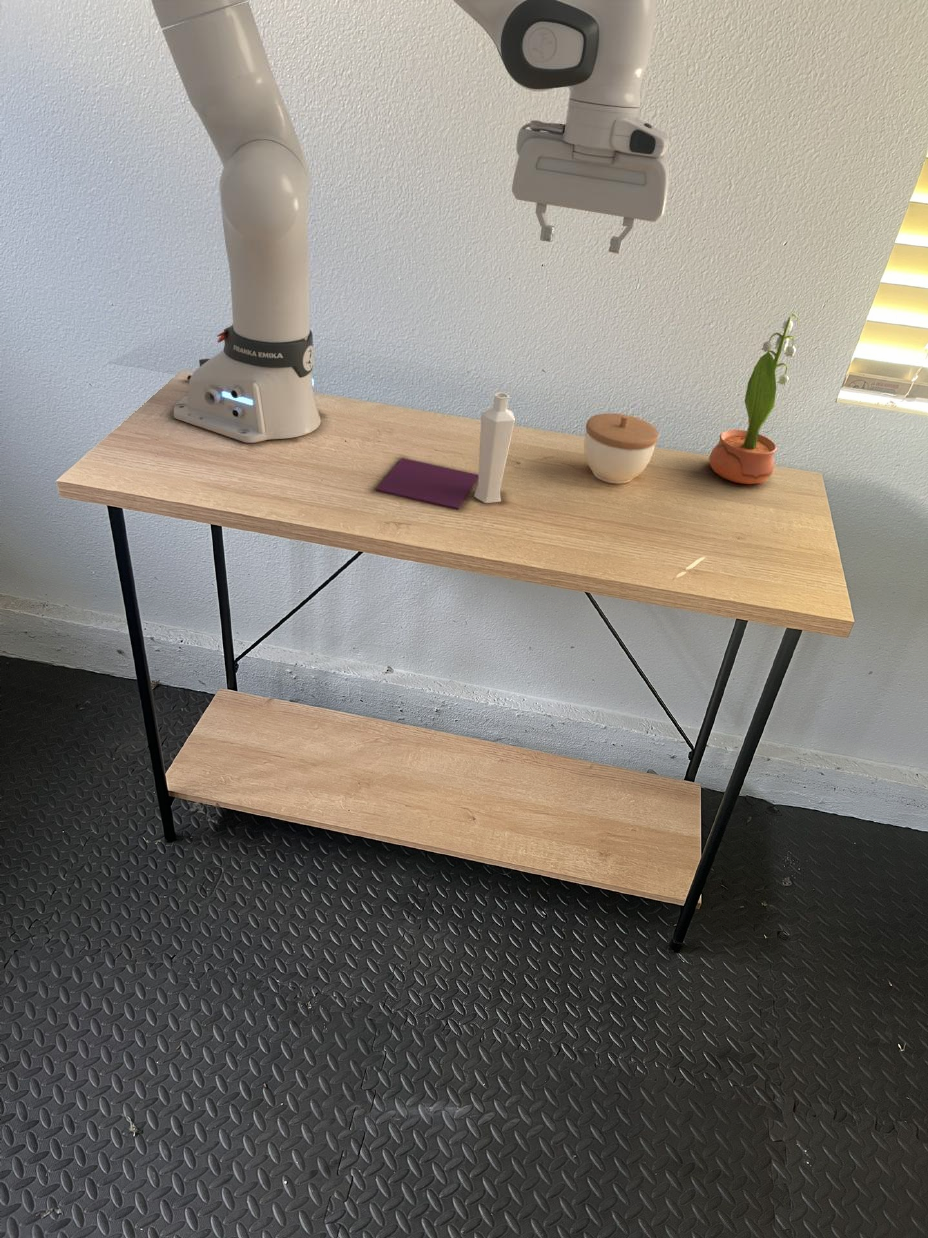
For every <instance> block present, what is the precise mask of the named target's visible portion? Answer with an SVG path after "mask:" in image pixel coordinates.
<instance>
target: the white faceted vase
mask: <svg viewBox="0 0 928 1238" xmlns="http://www.w3.org/2000/svg"><path fill="white" fill-rule="evenodd" d="M509 399H510V395H509V393H506V392H500V391H497V392H495V393H493V401H492V402H493V404H492V407H491V408H488V409H487V410H485V411H483V412H482V413H480V433H479V434H480V436H479V456H478V475H479V476H478V479H477V480H478V481H477V488H476V490H475V493H474V494H473V496H474V498H476V499H477V500H479V501H480V502H482V503H483V504H491V503H500V502H501V501H502V500H501V499H502V497H501V486H502V483H503V477H504V472H505V467H506V464H507V459H508V454H509V449H510V445H511V440H512V436H513V431H514V426H515V422H516V419H515V414H514V412H513V411H511V410H510V409H508V403H509Z"/></svg>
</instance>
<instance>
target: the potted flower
mask: <svg viewBox="0 0 928 1238" xmlns="http://www.w3.org/2000/svg"><path fill="white" fill-rule="evenodd" d="M793 316H794V317H796V320H797V326H799V323H800V319H799V317H798V315H797V314H795V313H793V312H792V313H791V315H790V316H789V317H788V318H787V320H785V321H783V323H782V326H781V329H783V333H782V334H781V333H780V332H774V333H773V334H771V336H770V338H769V340H767V341H764V342H763V344H762V347H761V350H762V351H763V353H765V354H763V355H762V356H760V357H759V359H758V361H757V363H756V364H755V365H754V366H753V367H754V368H753V370H752V372H751V375H750V377H749V380H748V382H747V386H746V391H745V396H744V405H745V408H746V413H747V419H748V426H747V430H745V429H729V430H725V431H722V432H721V433H720V435H719V441H718V443H717V444H716V445H715V446H714V447H713V449H712V450H711V452H710V454H709V457H708V462H709V464H710V468H711V469H712V471H713V472H714V473H716V474H717V475H718V476H719V477H721V478H723V479H724V480H727V481H730V482H733V483H736V484H742V485H754V484H760V483H764V482H765V481H766V480H768V479H769V478H770V477H771V476H772V475H773V474H774V469H775V459H774V454H775V452H776V451H777V449H778V447H777V445H776V443H775V442H774V441H773V440H772V439H771V438H769V437H767V436H765V435H762V434H760V431H761V429H762V427H763V425H764V424H765V423H766V421H767V420H768V418H769V416H770V414H771V413H772V411H773V409H774V408H775V401H776V393H777V384H779V385H782V386H783V385H784V386H787V385H788V382H789V380H790V378H789V376H788V375H787V371H788V364H787V363H786V362H780V363H779V360H780V358H781V355H782V352H783V354H784V355H785V357H791V358H794V356H795V353H796V349H797V348H796V347H795V346H794V344H795V337H794V336H793V335H791V334H790V335H787V334H788V332H791V330H792V328H793V325H794V322H793V321H792V317H793ZM774 336H777V339H776V341H775V344H773V342H772V341H771V340H772V338H773V337H774ZM789 339H791V341H792V344H791V345H788V344H789ZM774 346H775V347H774ZM772 348H773V349H774V350H776V352H775V351H774V350H773V349H772ZM773 356H774V357H773ZM783 365H784V366H785V372H784V374H781V375H780V376H779V377H778V381H777V379H776V371H777V368H778V367H780V366H783Z"/></svg>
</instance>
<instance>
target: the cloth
mask: <svg viewBox="0 0 928 1238" xmlns="http://www.w3.org/2000/svg"><path fill="white" fill-rule="evenodd" d="M478 476H479V474H476V473H472V472H468V471H462V470H457V469H454V468H449V467H444V466H440V465H436V464H430V463H426V462H422V461H417V460H413V459H408V458H404V457H402V458H401V459H400V460H399V461H398V462H397V464H396V465H395V466H394V467H393V468H392V469H391V471H390V472H389V473H388V474H387V475H386V476H385V477H384V479H383V480H382V481H381V482H380V483H379V484H378V485H377V486H376V488H375V491H376V492H380V493H385V494H389V495H393V496H398V497H402V498H407V499H410V500H414V501H419V502H423V503H427V504H431V505H437V506H441V507H446V508H450V509H453V510H454V509H455V510H459V509H460V507H461V505H462V504H463V502H464V500H465V499H466V497H467V496H468V494H469V493H470V491H471V490H472V488H473V486H475V484H476V482H477V480H478Z"/></svg>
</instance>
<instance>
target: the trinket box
mask: <svg viewBox="0 0 928 1238" xmlns="http://www.w3.org/2000/svg"><path fill="white" fill-rule="evenodd" d="M658 439H659V431H658V429H657V428H656V427H655V426H654V425H653V424H651V423H650V422H648V421H646V420H644V419H641V418H639V417H636V416H632V415H628V414H623V413H599V414H594V415H592V416H591V417H589V418H588V419H587V421H586V424H585V434H584V440H583V441H584V442H583V453H584V458H585V461H586V464H587V466H588V467H589V469H590V470H591V471H592V474H593V476H594V477H595V478H597V479H598V480H600V481H602V482H605V483H609V484H616V485H617V484H618V485H620V484H621V485H623V484H627V483H629V482H631V481H632V480H633V479H634V478H636V477H638V476H639V475H641V474H642V473H643V471H645V469H646V468H647V466H648V465H649V463H650V461H651V459H652V456H653V454H654V451H655V447H656V444H657V442H658Z"/></svg>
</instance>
